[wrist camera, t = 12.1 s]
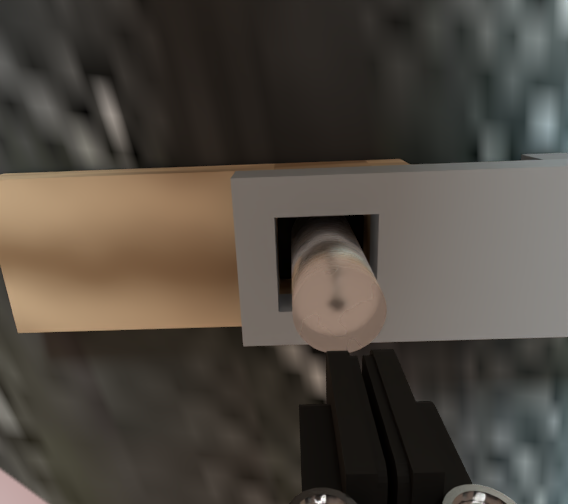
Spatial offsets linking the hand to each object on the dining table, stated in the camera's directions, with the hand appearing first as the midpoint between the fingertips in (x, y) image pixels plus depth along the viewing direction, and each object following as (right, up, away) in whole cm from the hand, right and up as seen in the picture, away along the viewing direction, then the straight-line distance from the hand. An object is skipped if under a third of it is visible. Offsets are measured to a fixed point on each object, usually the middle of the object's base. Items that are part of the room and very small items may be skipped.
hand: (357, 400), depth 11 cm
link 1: (-6, +4, +13) cm, 15 cm away
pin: (0, +5, +12) cm, 13 cm away
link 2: (+6, +5, +12) cm, 15 cm away
